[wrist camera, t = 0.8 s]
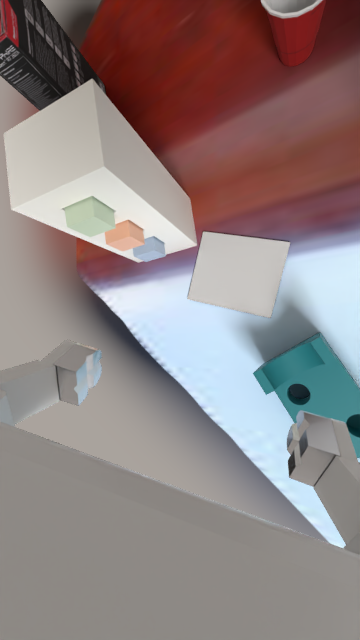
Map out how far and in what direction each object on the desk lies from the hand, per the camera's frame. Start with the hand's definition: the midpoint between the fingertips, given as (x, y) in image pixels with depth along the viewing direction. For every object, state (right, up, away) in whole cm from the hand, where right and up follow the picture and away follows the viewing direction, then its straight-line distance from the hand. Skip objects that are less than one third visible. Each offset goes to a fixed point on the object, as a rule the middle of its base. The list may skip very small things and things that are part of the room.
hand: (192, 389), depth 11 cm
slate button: (-6, +17, +43) cm, 46 cm away
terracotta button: (-9, +17, +35) cm, 40 cm away
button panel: (-4, +22, +48) cm, 53 cm away
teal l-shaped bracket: (+24, -10, +36) cm, 45 cm away
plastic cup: (+21, +51, +39) cm, 68 cm away
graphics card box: (-20, +51, +56) cm, 78 cm away
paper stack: (+15, +15, +41) cm, 46 cm away
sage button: (-12, +17, +28) cm, 35 cm away
